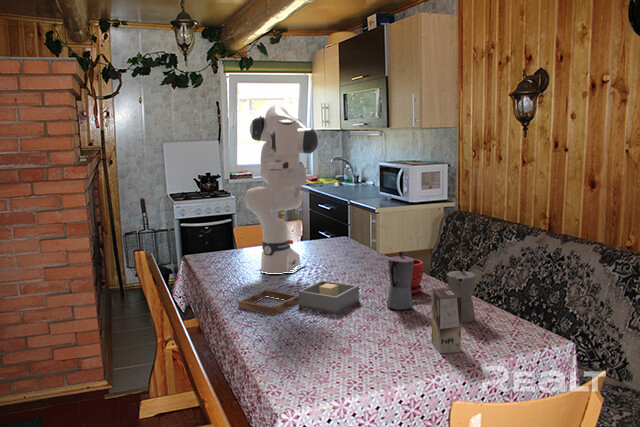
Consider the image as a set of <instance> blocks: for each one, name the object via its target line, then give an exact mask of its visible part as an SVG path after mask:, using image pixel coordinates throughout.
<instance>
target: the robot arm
mask: <svg viewBox="0 0 640 427" xmlns="http://www.w3.org/2000/svg"><path fill="white" fill-rule="evenodd" d="M249 133H250V136H251V138H252V139H253V140H254V141H256V142H260V141H261V142H264V143H263V145H262V148H261V153H260V177H261V178H262V180H263V181H264V182H265V183H266V184H268V186H256V187H252V188H251V187H250V188H249V189H247V190H246V192H245V195H244V200H243V201H244V204H245V206H246V208H247V209H248V210H250V211H251V212H252V213H253V214H255V216H257V219H258V220H259V222H260V225H261V230H262V242H261V246H262V247H261V249H262V252H261V262H260V264H261V265H260V267H261V270H262V271H263V272H267V273H283V272H293V271H290V270H294V269H293V268H295V267H296V266H298V265H300V263H301V257H300V254H299V253H298V252H296V250H294V249H292V247H291V245H293V244H294V240H293V239H288V225H287V222H286V221H285V220H284V219H282V218H279V217H277V216H275V215H274V214H273V212H274V211H290V210H295V209H299V208H300V207H301V205H302V203H303V193H302V191H301V189H302V186H303V187H304V186H306V185H307V183H308V180H307V178H308V177H307V171H306V168H305V165H304V164H303V162H302V161H300V154H306V155H307V154H312V153H313V152H315V151H316V149H317V148H318V145H319V144H318V142H319V140H318V134H317V132H316V131H315V129H313V128H312V127H308V126H307V124H305V122H303V121H302V120H301V119H298V118H296V117H294V116H292V115H290V114H289V112H288V110H286V109H285V108H284V107H282V106H280V105H274V106H270V107H269V108H268V110H267V111H266V113H265V117H264V116H262V115H260V116H259V117H256V118H254V119H253V120H251V123H250V126H249ZM261 270H260V271H261ZM294 271H295V270H294Z"/></svg>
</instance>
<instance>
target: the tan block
mask: <svg viewBox="0 0 640 427" xmlns="http://www.w3.org/2000/svg"><path fill="white" fill-rule="evenodd" d="M319 294H324V295H330V296H337V295H338V285H335V284H328V283H326V284H324V285H322V286H320V287H319Z"/></svg>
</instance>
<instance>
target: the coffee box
mask: <svg viewBox="0 0 640 427" xmlns="http://www.w3.org/2000/svg"><path fill="white" fill-rule="evenodd" d="M430 296H431V343H432V345H433V346H434V347H435V349H436V350H437V351H438V353H439V354H449V353H450V354H452V353H461V350H462V323H461V297H460V296H459V295H458V294H457V293H456V292H455V291H453V290H452V289H449V288H439V289H431V295H430Z"/></svg>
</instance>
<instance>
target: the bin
mask: <svg viewBox="0 0 640 427" xmlns="http://www.w3.org/2000/svg"><path fill="white" fill-rule="evenodd" d="M326 283H328V284H335V285H338V295H337V296H330V295H324V294H319V287H320V286H322V285H324V284H326ZM359 287H360V286H359V285H355V284H348V283H342V282H335V281H330V280H329V281H328V280H320V281H318V282H316V283H314V284H311V285H309V286H307V287H305V288H302V289H300V290H298V291H297V293H298V294H297V295H298V301H299V303H298V308H299V307H302V308H301V309H305V308H307V309H306V310H310V309H311V311H317V312H323V313H327V314H332V315H338V314H340V313H341V312H344V311H345V310H346V309H348V308H350V307H352V306H353V305H355V304H357V303H359V302H360V288H359Z"/></svg>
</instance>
